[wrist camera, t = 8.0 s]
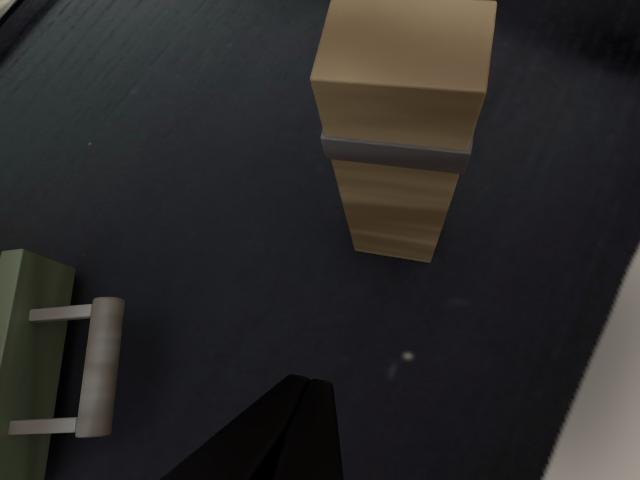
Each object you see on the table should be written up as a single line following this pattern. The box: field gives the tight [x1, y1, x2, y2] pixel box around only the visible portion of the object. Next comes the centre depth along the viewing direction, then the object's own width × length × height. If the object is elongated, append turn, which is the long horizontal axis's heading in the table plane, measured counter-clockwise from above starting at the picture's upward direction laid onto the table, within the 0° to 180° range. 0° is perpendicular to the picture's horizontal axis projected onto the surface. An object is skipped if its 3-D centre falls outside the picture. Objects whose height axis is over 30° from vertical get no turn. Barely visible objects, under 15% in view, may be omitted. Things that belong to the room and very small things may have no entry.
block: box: [310, 0, 497, 263], centre depth 16 cm, size 3×4×14 cm, turn 77°
